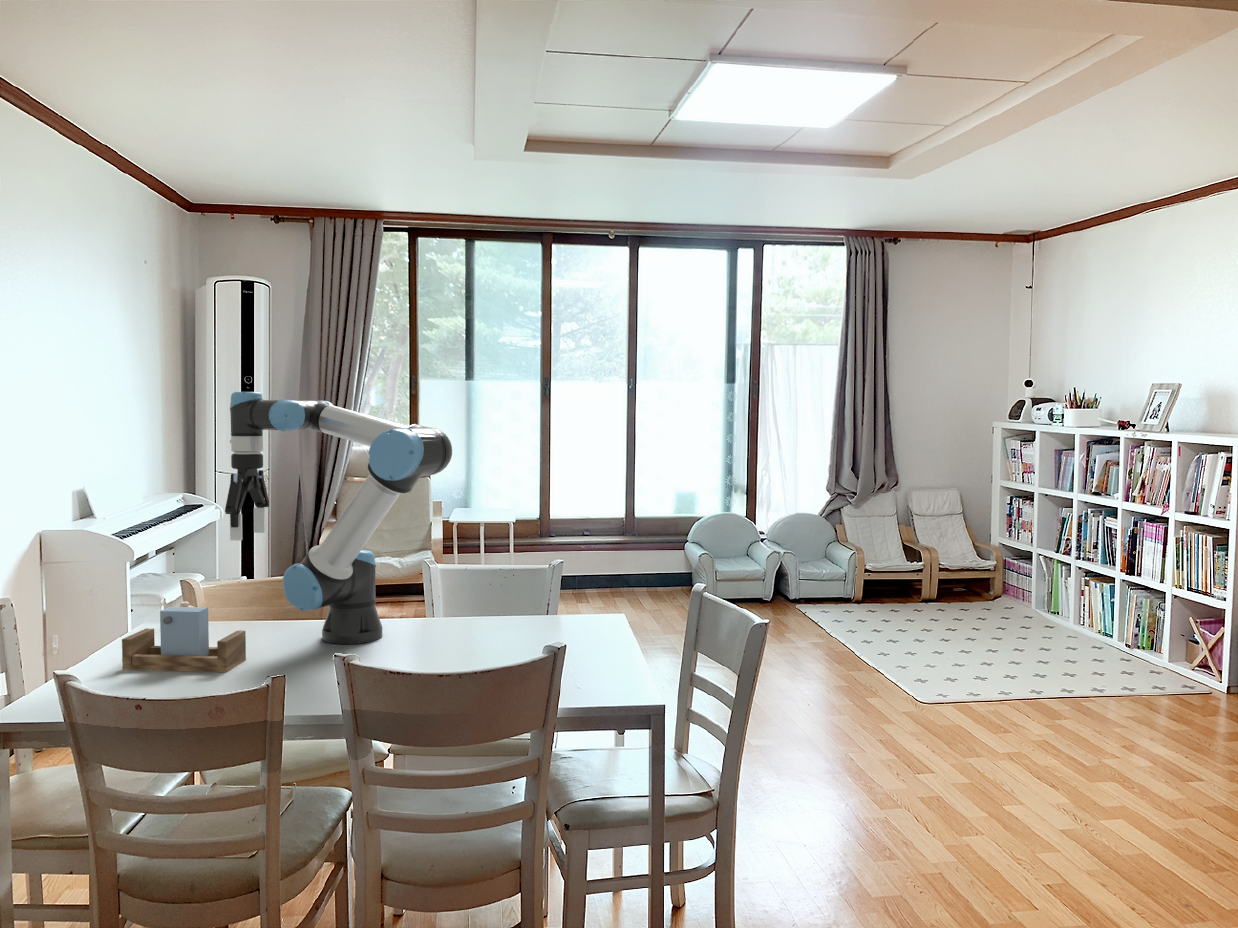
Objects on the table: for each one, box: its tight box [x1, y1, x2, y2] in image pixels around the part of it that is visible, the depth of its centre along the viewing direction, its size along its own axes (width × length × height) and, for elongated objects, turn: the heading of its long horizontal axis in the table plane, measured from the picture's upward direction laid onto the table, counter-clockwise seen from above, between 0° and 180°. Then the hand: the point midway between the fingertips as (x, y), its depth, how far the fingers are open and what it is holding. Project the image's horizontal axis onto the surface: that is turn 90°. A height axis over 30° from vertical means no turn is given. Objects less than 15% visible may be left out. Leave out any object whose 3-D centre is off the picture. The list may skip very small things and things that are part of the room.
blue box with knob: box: [159, 606, 210, 656], centre depth 215 cm, size 9×6×12 cm, turn 88°
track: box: [121, 628, 247, 673], centre depth 216 cm, size 24×10×7 cm, turn 88°
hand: (248, 536), depth 237 cm, fingers open, 13 cm apart
